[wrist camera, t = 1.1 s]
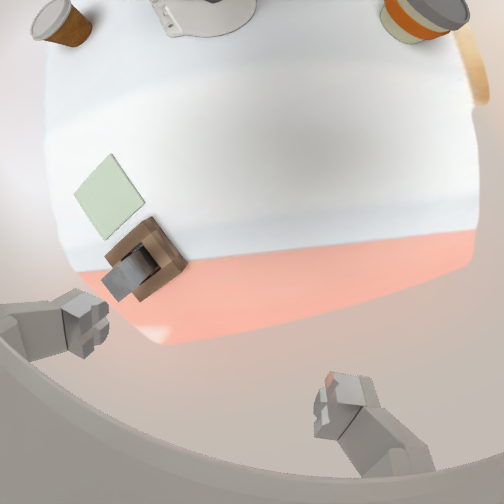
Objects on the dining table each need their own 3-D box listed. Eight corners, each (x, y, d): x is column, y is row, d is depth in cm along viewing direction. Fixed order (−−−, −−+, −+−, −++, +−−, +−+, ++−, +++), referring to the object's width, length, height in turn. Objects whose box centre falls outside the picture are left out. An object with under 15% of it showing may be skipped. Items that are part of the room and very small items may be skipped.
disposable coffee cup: (83, 13, 30) (52, -7, 18) (106, 21, 31) (75, -2, 20) (56, 48, 32) (22, 34, 21) (77, 59, 34) (40, 43, 22)
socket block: (115, 249, 45) (104, 256, 41) (151, 216, 43) (142, 221, 39) (148, 292, 47) (140, 302, 43) (187, 263, 45) (181, 272, 41)
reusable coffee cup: (434, 58, 31) (481, 35, 17) (379, 45, 32) (418, 10, 18) (418, 9, 27) (454, -21, 13) (363, -5, 28) (391, -46, 14)
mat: (75, 194, 42) (73, 194, 41) (111, 153, 40) (109, 153, 39) (105, 240, 44) (104, 240, 44) (145, 203, 42) (144, 203, 42)
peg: (135, 253, 45) (100, 279, 34) (150, 240, 44) (117, 265, 33) (148, 271, 46) (118, 302, 34) (164, 259, 45) (135, 288, 34)
